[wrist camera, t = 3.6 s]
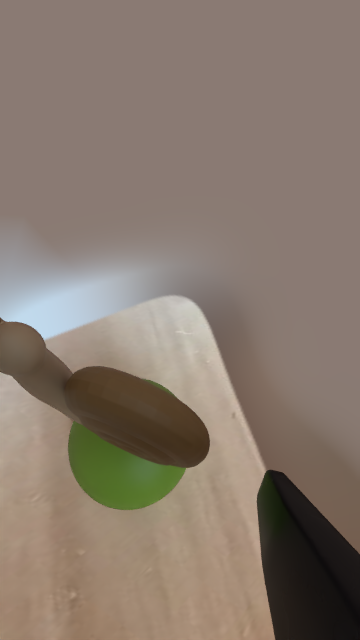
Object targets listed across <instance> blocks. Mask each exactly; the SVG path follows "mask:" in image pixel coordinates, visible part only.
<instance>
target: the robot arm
mask: <svg viewBox="0 0 360 640" xmlns="http://www.w3.org/2000/svg"><path fill="white" fill-rule="evenodd" d="M257 509H258V521H259V533H260V545H261V557H262V567H263V573H264V579H265V585H266V590H267V596H268V602H269V607H270V613H271V618H272V624H273V629H274V635H275V640H360V554H359V553H358V552H357V551H356V550H355V549H354V548H353V547H352V546H351V545H350V544H349V542H348V541H347V540H346V539H345V538H344V537H343V536H342V535H341V534H340V533H339V532H338V531H337V530H336V529H335V528H334V527H333V525H332V524H331V523H330V522H329V521H328V520H327V519H326V518H325V517H324V516H323V515H322V514H321V513H320V512H319V511H318V509H317V508H316V507H315V506H314V505H313V504H312V503H311V502H310V501H309V500H308V499H307V498H306V497H305V495H303V493H302V492H301V491H300V490H299V489H298V488H297V487H296V486H295V485H294V484H293V483H292V482H291V481H290V480H289V479H288V478H287V476H286V475H285V474H284V473H282V472H278V471H274V470H267V471H266V473H265V475H264V478H263V481H262V483H261V486H260V489H259V492H258V495H257Z"/></svg>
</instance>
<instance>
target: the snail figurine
mask: <svg viewBox="0 0 360 640" xmlns="http://www.w3.org/2000/svg"><path fill="white" fill-rule="evenodd" d="M0 372H2V373H4V374H7V375H11V376H12V377H13V378H14V379H15V380H16V381H17V382H18V383H19V384H20V385H21V386H22V387H23V388H24V389H25V390H26V391H28V392H29V393H30V394H31V395H33V396H34V397H36V398H37V399H39V400H41V401H42V402H44V403H46V404H48V405H50V406H52V407H53V408H55V409H57V410H59V411H60V412H62V413H63V414H65V415H66V416H67V417H69V418H70V419H72V420H73V424H72V427H71V431H70V435H69V443H68V453H69V461H70V465H71V469H72V472H73V474H74V476H75V478H76V480H77V482H78V483H79V485H80V486H81V488H82V489H83V490H84V491H85V492H86V493H87V494H88V495H89V496H90V497H91V498H92V499H94V500H95V501H97V502H98V503H100V504H102V505H105V506H107V507H110V508H114V509H120V510H133V509H139V508H143V507H146V506H149V505H151V504H153V503H155V502H157V501H159V500H160V499H162V498H163V497H164V496H166V495H167V494H168V493H169V492H170V491H171V490H172V489H173V488H174V487H175V486H176V485H177V483H178V482H179V480H180V479H181V477H182V476H183V474H184V472H185V470H186V468H190V467H194V466H196V465H198V464H199V463H200V462H202V461H203V460H204V459H205V457H206V456H207V454H208V451H209V446H210V439H209V434H208V431H207V429H206V427H205V425H204V423H203V422H202V420H201V419H200V418H199V417H198V416H197V415H196V413H195V412H194V411H192V410H191V409H190V408H189V407H188V406H187V405H185V404H184V403H183V402H181V401H180V400H178V399H177V398H176V397H175V395H174V394H172V393H171V392H170V391H169V390H168V389H166V388H165V387H163V386H162V385H160V384H158V383H155V382H153V381H150V380H146V379H140V378H138V377H136V376H133V375H131V374H128V373H125V372H123V371H119V370H116V369H112V368H108V367H101V366H92V367H86V368H83V369H81V370H79V371H77V372H75V373H74V374H73V373H72V372H71V371H70V369H69V368H68V367H67V366H66V365H65V364H64V363H63V362H62V361H61V360H60V359H59V358H58V357H57V356H56V355H54V354H53V353H52V352H51V351H49V350H48V349H47V348H46V345H45V342H44V340H43V338H42V336H41V335H40V334H39V333H38V332H37V331H36V330H35V329H34V328H32V327H31V326H29V325H26V324H24V323H19V322H5V321H4V320H2V319H1V318H0Z"/></svg>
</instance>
